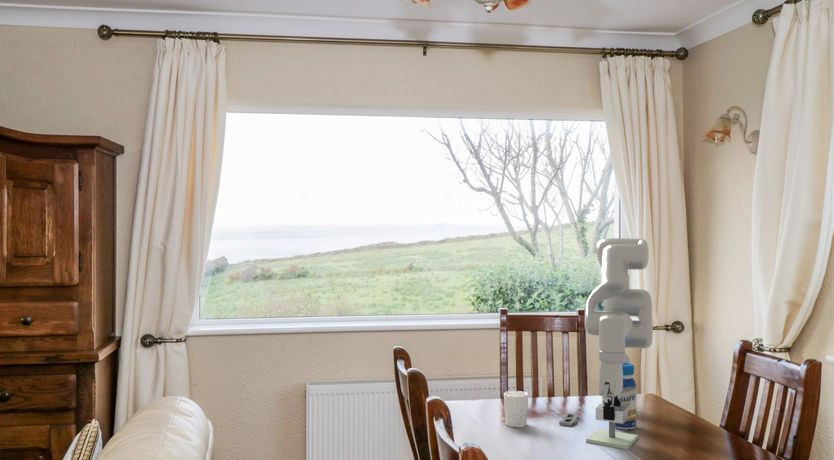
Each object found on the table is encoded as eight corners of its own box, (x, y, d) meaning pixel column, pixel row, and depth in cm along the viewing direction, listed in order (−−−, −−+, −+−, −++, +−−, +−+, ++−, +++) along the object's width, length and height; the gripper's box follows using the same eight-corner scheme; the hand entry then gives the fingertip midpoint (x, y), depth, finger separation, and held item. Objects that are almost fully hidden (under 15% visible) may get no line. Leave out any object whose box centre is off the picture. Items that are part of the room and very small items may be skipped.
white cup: (527, 428, 210) (527, 397, 210) (502, 427, 212) (502, 396, 212) (528, 421, 218) (528, 391, 218) (504, 420, 219) (504, 390, 220)
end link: (595, 419, 198) (595, 407, 198) (601, 415, 203) (601, 403, 203) (622, 423, 194) (622, 411, 194) (628, 418, 199) (628, 407, 199)
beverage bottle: (636, 424, 215) (636, 362, 215) (637, 431, 207) (636, 367, 207) (609, 421, 218) (609, 360, 218) (608, 429, 210) (608, 365, 210)
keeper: (598, 432, 207) (598, 412, 207) (637, 438, 200) (637, 418, 200) (586, 442, 196) (586, 422, 196) (627, 449, 190) (627, 428, 190)
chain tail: (566, 415, 225) (566, 412, 225) (582, 418, 222) (582, 415, 222) (553, 423, 215) (553, 420, 215) (571, 426, 212) (571, 423, 212)
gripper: (607, 351, 208) (607, 409, 208) (590, 360, 193) (590, 422, 193) (632, 353, 204) (632, 412, 204) (616, 362, 189) (616, 426, 189)
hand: (612, 416), depth 198 cm, fingers closed on end link, 6 cm apart
